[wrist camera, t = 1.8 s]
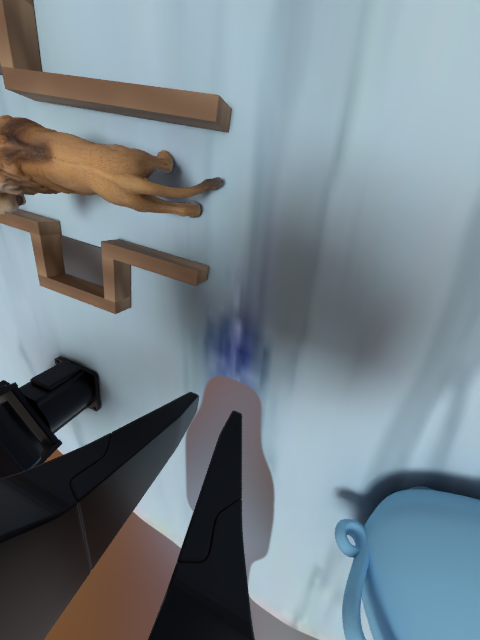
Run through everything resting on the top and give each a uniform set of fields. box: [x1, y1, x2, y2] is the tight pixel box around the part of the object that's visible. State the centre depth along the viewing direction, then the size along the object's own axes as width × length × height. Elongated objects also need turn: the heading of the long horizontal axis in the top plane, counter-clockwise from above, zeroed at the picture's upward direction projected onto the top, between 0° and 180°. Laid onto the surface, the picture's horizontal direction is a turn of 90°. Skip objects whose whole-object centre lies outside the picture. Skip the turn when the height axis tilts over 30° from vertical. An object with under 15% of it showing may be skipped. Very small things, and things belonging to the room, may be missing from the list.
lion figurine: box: [0, 115, 222, 218], centre depth 15 cm, size 15×5×9 cm, turn 89°
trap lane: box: [0, 0, 232, 314], centre depth 21 cm, size 22×36×2 cm, turn 78°
